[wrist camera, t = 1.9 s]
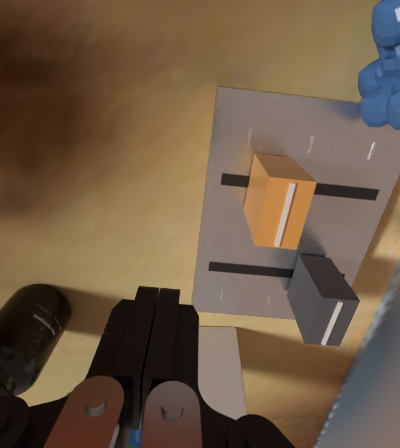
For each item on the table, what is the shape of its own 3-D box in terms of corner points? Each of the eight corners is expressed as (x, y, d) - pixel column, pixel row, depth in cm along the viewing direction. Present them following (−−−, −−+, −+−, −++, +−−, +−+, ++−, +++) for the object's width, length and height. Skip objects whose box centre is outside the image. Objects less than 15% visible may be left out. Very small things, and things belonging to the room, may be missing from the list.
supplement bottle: (79, 294, 33) (22, 397, 23) (66, 333, 36) (9, 442, 26) (17, 273, 32) (-75, 373, 22) (8, 316, 35) (-77, 422, 24)
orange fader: (254, 153, 24) (270, 177, 18) (291, 157, 24) (318, 182, 18) (243, 210, 26) (254, 247, 20) (277, 213, 26) (297, 251, 21)
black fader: (299, 254, 28) (322, 299, 22) (330, 257, 28) (361, 302, 23) (286, 295, 30) (305, 345, 25) (315, 298, 30) (340, 348, 25)
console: (216, 85, 24) (218, 86, 22) (410, 108, 24) (427, 111, 22) (191, 298, 34) (191, 311, 32) (329, 310, 34) (336, 323, 32)
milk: (232, 359, 38) (266, 662, 19) (185, 359, 38) (170, 661, 19) (236, 325, 35) (279, 638, 16) (185, 324, 35) (167, 637, 16)
